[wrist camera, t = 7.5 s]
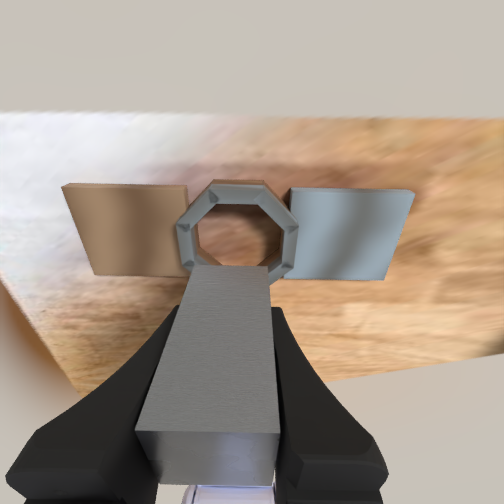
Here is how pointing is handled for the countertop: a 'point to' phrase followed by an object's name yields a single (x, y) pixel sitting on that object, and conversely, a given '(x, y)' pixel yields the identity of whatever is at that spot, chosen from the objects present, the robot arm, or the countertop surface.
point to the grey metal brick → (216, 385)
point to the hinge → (239, 192)
